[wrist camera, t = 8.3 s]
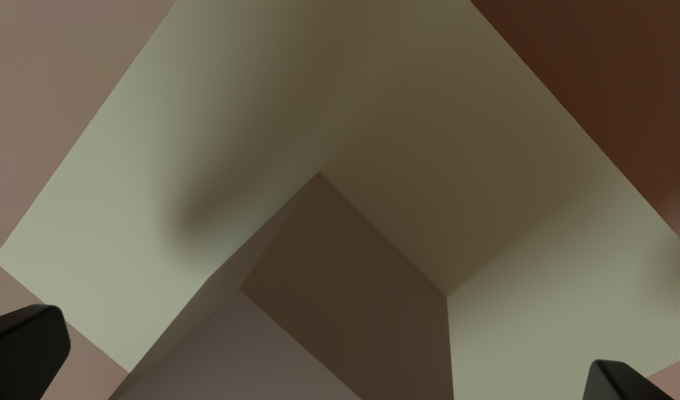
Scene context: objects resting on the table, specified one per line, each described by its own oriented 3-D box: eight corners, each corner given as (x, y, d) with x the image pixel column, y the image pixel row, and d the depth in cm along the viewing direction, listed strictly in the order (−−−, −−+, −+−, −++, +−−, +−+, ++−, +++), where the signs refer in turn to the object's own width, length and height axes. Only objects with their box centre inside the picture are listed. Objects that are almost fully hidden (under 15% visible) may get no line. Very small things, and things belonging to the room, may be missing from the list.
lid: (26, 240, 12) (-232, 387, 7) (321, -160, 8) (160, -430, 3) (337, 503, 13) (290, 759, 9) (721, 291, 9) (1016, 570, 5)
